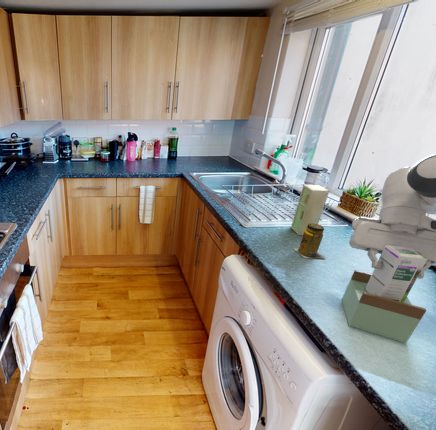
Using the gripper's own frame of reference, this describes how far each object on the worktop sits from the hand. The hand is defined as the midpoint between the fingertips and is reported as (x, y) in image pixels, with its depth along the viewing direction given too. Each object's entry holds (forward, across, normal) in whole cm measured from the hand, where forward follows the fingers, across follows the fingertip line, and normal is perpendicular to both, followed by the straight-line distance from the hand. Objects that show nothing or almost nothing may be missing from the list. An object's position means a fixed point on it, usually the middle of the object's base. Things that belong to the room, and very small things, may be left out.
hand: (396, 272), depth 73 cm
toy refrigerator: (-26, -15, +49) cm, 57 cm away
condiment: (-11, -13, +35) cm, 39 cm away
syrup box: (+6, 0, +6) cm, 9 cm away
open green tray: (+11, 0, +12) cm, 16 cm away
